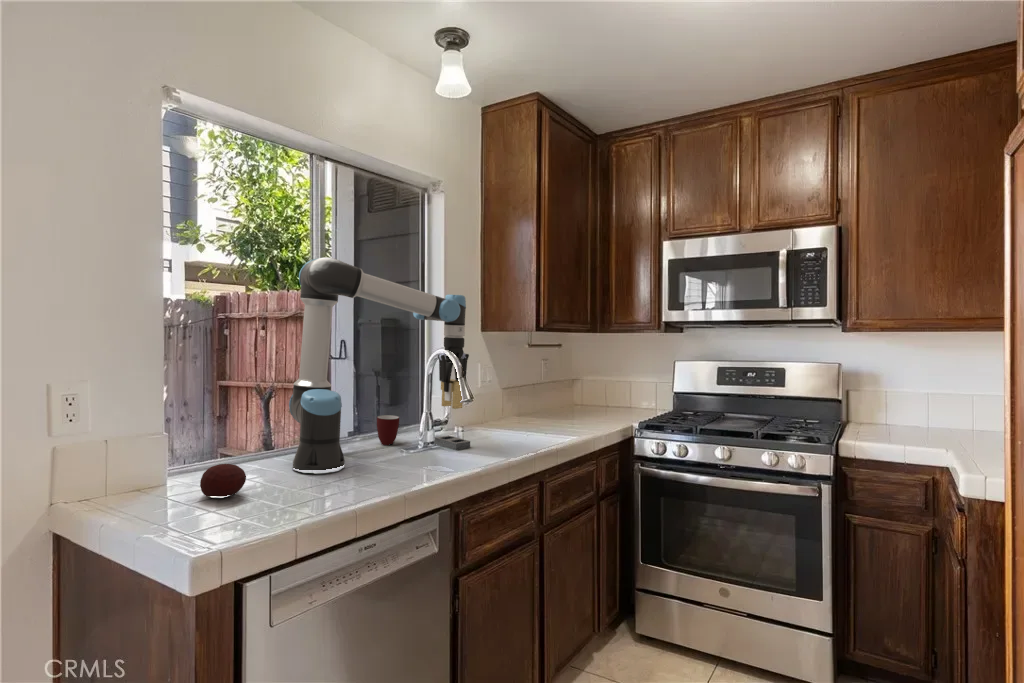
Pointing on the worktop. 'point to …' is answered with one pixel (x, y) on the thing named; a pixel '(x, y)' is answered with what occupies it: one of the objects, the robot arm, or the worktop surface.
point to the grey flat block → (452, 442)
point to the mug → (387, 428)
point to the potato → (222, 480)
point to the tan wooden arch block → (456, 395)
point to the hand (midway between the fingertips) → (452, 399)
